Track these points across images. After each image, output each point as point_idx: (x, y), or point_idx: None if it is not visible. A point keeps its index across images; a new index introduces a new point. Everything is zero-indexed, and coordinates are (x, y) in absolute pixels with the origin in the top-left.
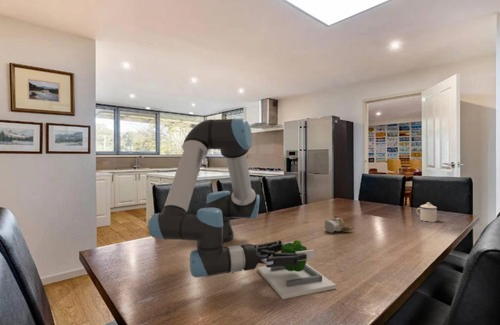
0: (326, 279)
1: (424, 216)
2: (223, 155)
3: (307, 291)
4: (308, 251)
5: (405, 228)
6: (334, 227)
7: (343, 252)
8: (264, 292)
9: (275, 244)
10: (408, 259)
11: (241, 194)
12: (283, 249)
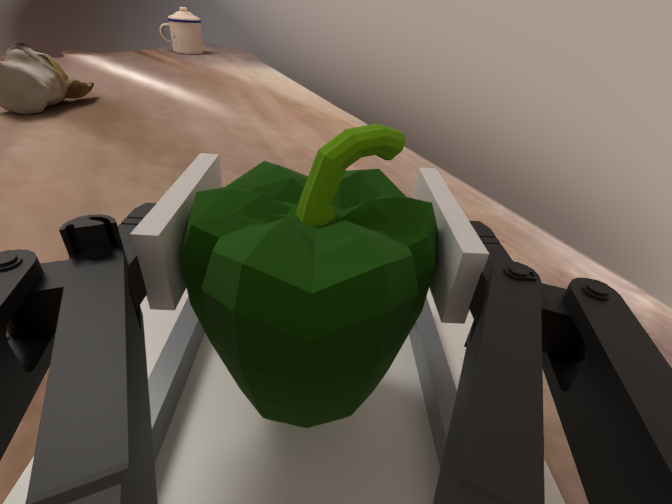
0: None
1: (184, 41)
2: None
3: None
4: (448, 193)
5: (185, 69)
6: (45, 87)
7: (194, 158)
8: None
9: (87, 303)
10: (325, 123)
11: None
12: (309, 302)
